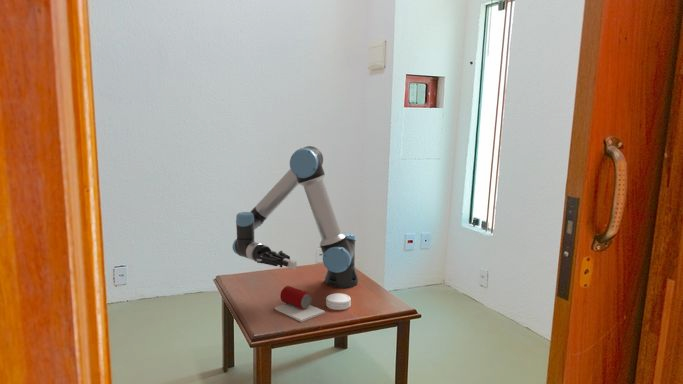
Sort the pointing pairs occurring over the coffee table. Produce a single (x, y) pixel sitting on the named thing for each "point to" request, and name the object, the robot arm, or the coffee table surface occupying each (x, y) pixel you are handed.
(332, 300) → the coaster
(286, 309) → the mat
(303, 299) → the beverage can
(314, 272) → the coffee table surface
